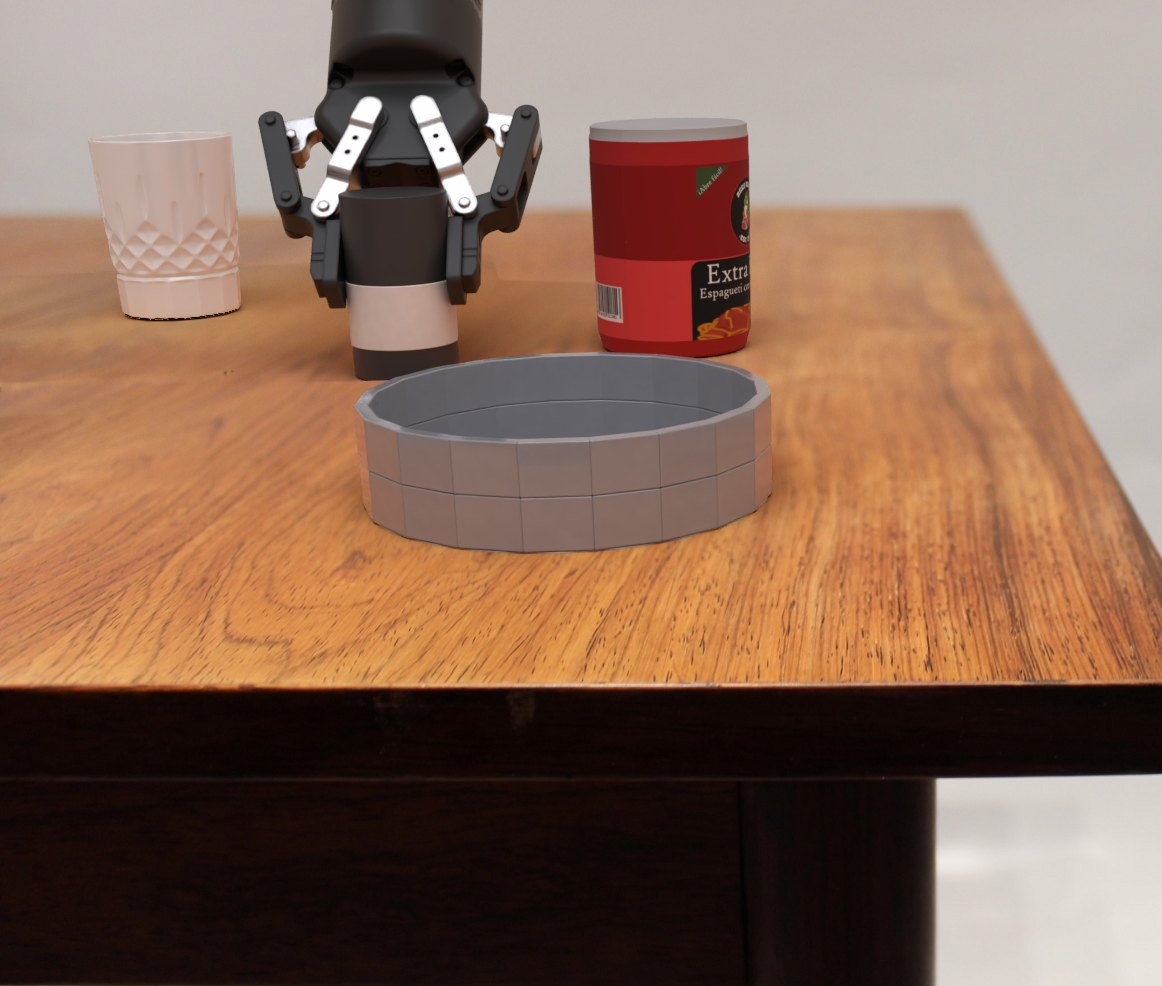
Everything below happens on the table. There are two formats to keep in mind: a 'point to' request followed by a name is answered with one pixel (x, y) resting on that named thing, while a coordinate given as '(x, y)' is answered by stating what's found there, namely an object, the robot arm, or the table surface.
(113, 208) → the white cup
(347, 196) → the container
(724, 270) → the canned food
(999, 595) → the table surface
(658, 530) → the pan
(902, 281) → the table surface
